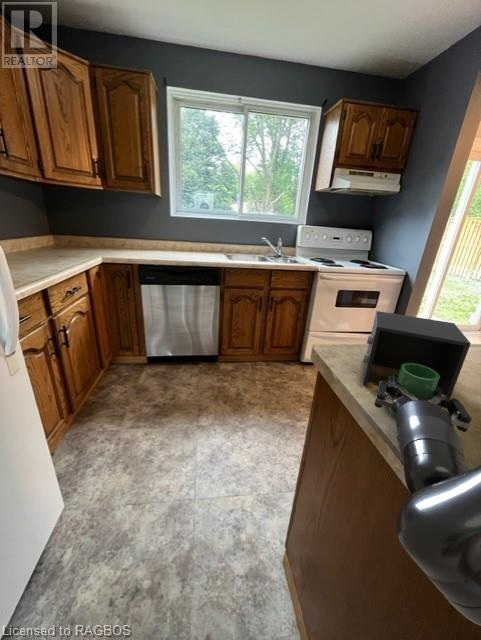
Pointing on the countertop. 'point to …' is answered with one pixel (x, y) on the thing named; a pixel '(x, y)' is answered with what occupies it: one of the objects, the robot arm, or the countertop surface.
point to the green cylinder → (418, 380)
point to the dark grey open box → (417, 346)
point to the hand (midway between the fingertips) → (412, 383)
